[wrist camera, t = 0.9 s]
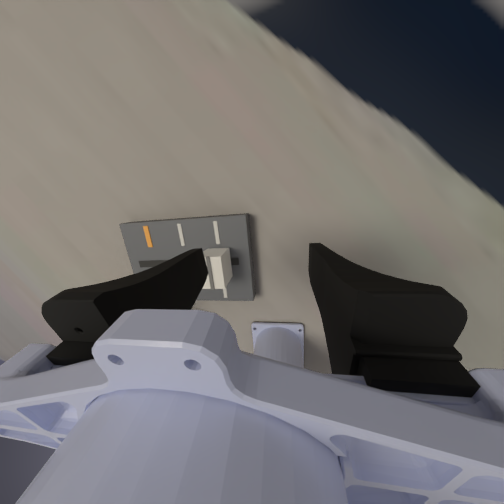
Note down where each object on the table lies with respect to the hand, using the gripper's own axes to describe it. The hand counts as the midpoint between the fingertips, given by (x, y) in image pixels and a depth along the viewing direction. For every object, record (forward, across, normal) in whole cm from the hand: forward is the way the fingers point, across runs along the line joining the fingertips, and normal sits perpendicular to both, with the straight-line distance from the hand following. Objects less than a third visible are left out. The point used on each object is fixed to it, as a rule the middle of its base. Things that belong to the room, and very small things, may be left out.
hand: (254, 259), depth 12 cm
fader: (+10, +6, +6) cm, 13 cm away
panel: (+12, +11, +6) cm, 18 cm away
